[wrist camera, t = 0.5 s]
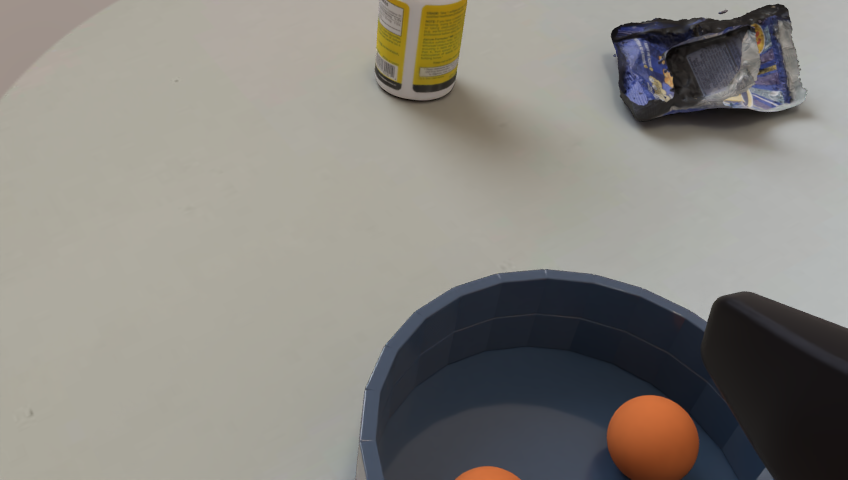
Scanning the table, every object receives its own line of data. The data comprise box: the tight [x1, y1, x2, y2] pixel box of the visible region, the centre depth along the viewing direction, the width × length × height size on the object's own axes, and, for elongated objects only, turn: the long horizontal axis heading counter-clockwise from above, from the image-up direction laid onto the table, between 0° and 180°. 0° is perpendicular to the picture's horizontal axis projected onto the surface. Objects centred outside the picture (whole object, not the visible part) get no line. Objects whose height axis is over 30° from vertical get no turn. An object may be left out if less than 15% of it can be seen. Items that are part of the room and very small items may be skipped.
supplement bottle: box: [375, 0, 467, 100], centre depth 43 cm, size 5×5×8 cm
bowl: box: [355, 269, 774, 480], centre depth 25 cm, size 14×14×4 cm
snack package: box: [611, 4, 807, 121], centre depth 46 cm, size 12×6×12 cm
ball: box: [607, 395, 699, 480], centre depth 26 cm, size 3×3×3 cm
